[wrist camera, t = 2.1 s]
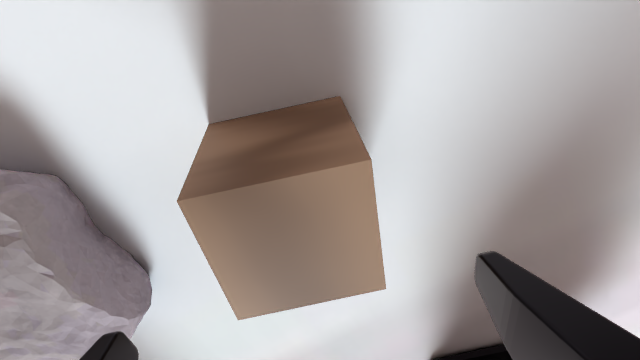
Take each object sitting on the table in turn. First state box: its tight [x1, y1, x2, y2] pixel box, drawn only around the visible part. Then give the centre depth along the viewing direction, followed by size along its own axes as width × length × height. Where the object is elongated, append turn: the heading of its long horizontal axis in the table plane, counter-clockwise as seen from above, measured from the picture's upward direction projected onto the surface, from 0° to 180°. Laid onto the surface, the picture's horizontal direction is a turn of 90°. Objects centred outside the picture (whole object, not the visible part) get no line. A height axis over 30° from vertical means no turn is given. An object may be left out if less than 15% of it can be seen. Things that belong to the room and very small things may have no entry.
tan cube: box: [177, 96, 386, 320], centre depth 12 cm, size 5×5×5 cm
